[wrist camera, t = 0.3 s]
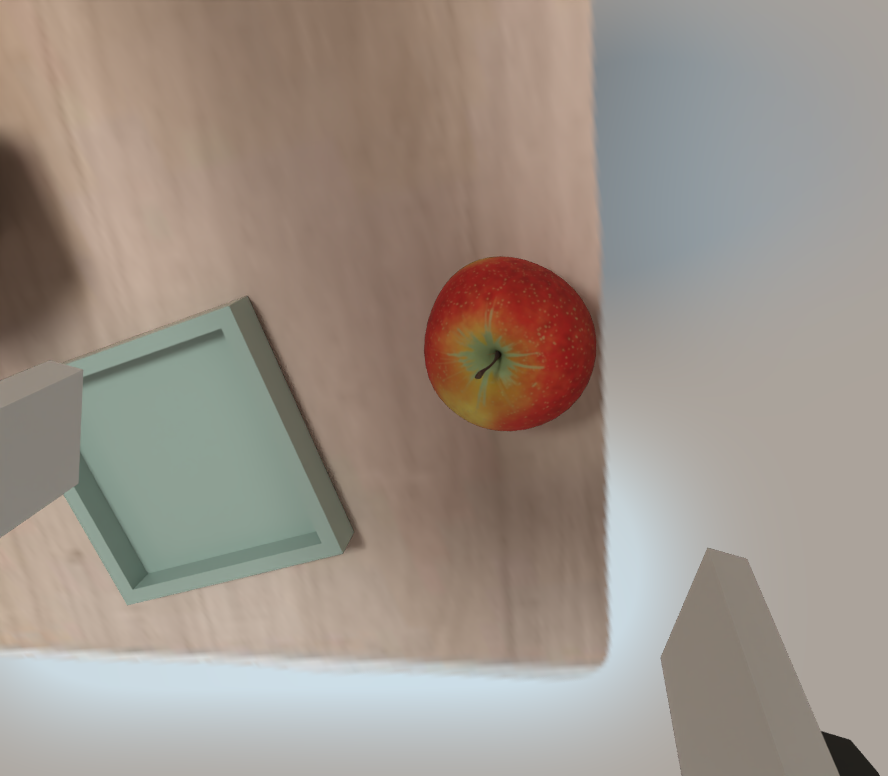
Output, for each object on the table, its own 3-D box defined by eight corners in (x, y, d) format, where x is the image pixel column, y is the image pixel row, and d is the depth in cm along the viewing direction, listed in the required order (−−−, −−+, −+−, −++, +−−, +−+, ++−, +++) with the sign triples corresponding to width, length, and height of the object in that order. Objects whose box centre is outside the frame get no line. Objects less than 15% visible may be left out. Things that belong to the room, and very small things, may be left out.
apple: (561, 408, 39) (561, 494, 30) (424, 363, 40) (382, 435, 31) (614, 271, 36) (631, 321, 27) (464, 224, 37) (431, 257, 27)
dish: (30, 374, 44) (1, 387, 42) (247, 295, 40) (228, 305, 38) (147, 583, 49) (127, 605, 46) (353, 532, 44) (343, 553, 42)
